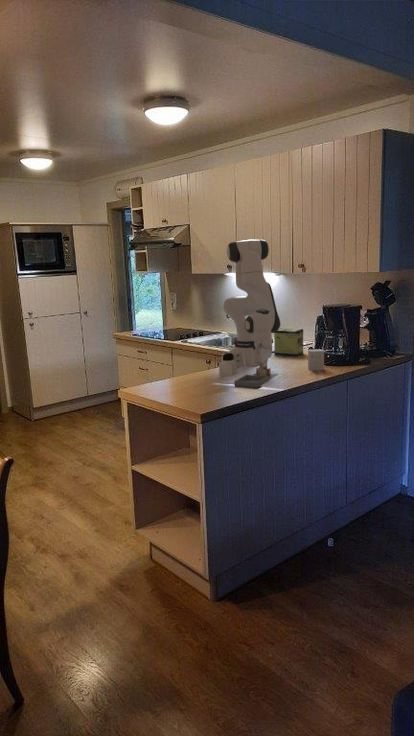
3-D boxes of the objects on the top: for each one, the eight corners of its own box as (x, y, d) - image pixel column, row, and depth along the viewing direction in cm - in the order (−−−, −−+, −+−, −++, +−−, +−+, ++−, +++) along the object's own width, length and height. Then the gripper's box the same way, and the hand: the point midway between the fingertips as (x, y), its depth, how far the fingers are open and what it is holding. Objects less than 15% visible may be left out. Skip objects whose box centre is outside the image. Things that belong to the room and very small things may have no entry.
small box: (322, 368, 284) (323, 349, 281) (324, 370, 278) (324, 350, 276) (307, 368, 284) (307, 349, 282) (308, 370, 279) (308, 351, 277)
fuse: (258, 376, 265) (257, 359, 263) (261, 374, 268) (261, 357, 267) (265, 377, 263) (265, 359, 261) (268, 375, 267) (268, 358, 265)
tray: (234, 386, 250) (234, 380, 249) (246, 380, 262) (246, 374, 261) (257, 389, 244) (257, 382, 244) (268, 382, 256) (268, 376, 256)
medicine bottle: (236, 375, 275) (236, 352, 272) (231, 378, 268) (231, 355, 266) (224, 374, 278) (223, 351, 275) (219, 377, 271) (218, 354, 269)
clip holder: (247, 379, 264) (247, 369, 262) (257, 374, 274) (256, 365, 273) (270, 381, 258) (270, 371, 257) (278, 376, 268) (278, 366, 267)
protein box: (297, 356, 318) (297, 331, 314) (273, 354, 326) (273, 330, 323) (303, 353, 326) (303, 329, 323) (280, 352, 335) (280, 327, 331)
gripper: (263, 345, 252) (263, 373, 254) (274, 339, 270) (274, 365, 273) (250, 345, 254) (251, 373, 257) (262, 338, 272) (262, 364, 275)
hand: (263, 369), depth 265 cm, fingers closed on fuse, 4 cm apart
